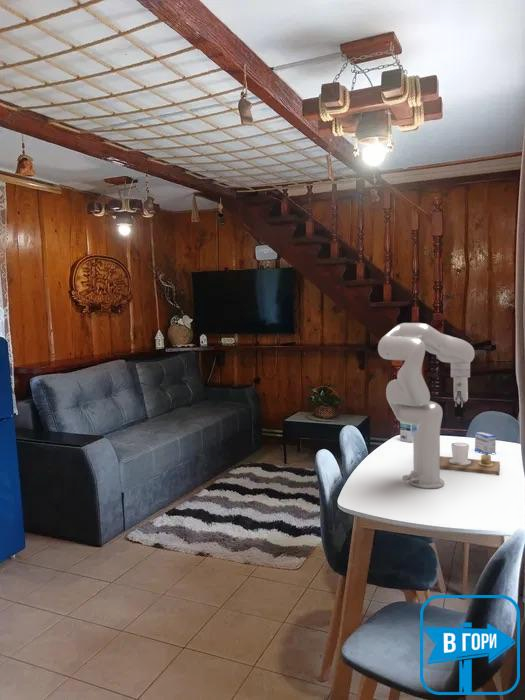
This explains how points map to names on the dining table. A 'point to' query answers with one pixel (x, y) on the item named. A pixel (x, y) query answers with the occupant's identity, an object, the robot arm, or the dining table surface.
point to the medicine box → (485, 442)
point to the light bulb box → (407, 431)
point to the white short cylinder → (460, 452)
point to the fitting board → (471, 465)
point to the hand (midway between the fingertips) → (460, 414)
